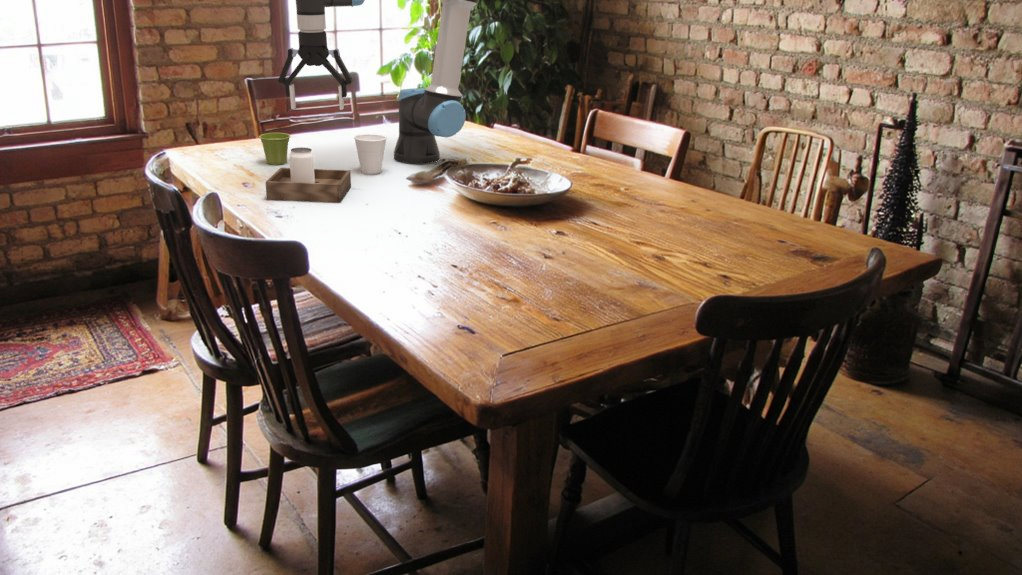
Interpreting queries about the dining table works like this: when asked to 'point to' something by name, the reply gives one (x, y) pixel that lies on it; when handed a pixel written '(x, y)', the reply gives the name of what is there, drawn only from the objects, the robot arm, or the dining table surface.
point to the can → (302, 165)
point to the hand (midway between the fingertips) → (317, 108)
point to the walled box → (309, 186)
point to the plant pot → (275, 147)
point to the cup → (370, 152)
